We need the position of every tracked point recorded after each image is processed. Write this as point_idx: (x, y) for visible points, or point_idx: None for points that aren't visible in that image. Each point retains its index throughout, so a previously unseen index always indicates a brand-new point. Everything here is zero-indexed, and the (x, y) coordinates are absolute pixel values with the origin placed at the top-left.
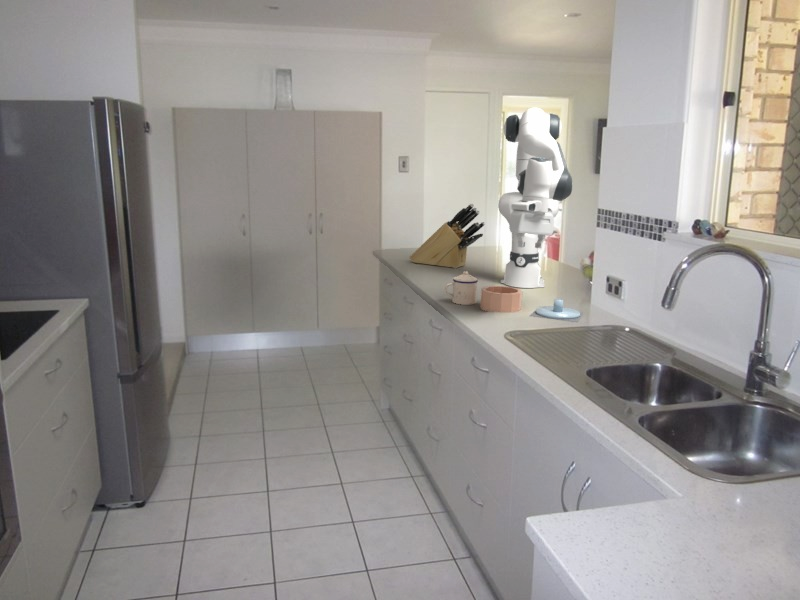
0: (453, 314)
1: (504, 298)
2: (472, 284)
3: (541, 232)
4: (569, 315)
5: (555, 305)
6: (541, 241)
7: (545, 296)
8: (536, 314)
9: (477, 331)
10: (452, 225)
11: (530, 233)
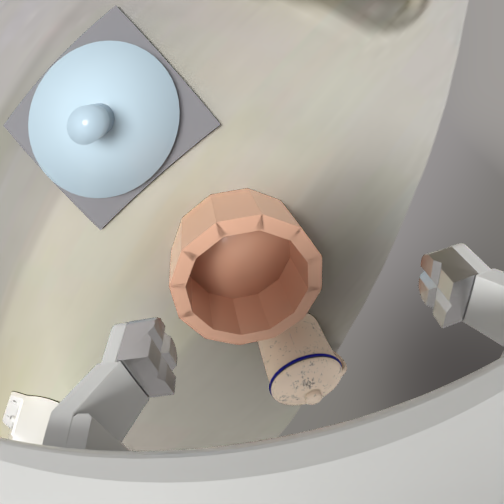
0: (396, 235)
1: (285, 217)
2: (307, 352)
3: (155, 483)
4: (99, 53)
5: (107, 116)
6: (109, 382)
7: (27, 336)
8: (181, 132)
9: (447, 79)
10: None
11: (494, 364)
